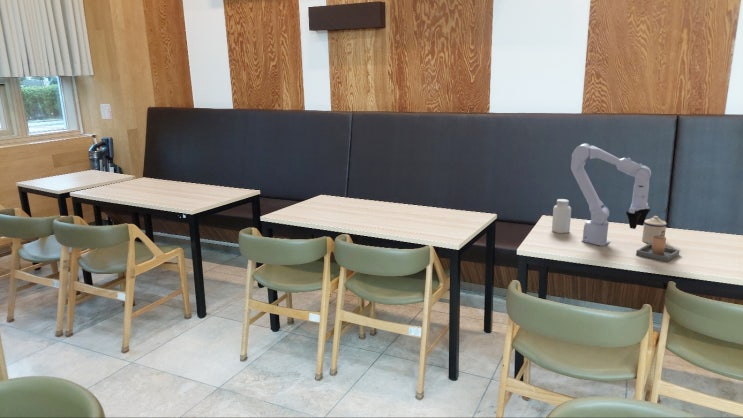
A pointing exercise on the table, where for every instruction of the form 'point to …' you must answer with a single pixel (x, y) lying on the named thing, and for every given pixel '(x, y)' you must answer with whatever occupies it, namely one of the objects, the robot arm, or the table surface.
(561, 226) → the pill bottle
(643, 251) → the charcoal tray
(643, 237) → the teacup with lid
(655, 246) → the terracotta cup
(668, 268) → the table surface
